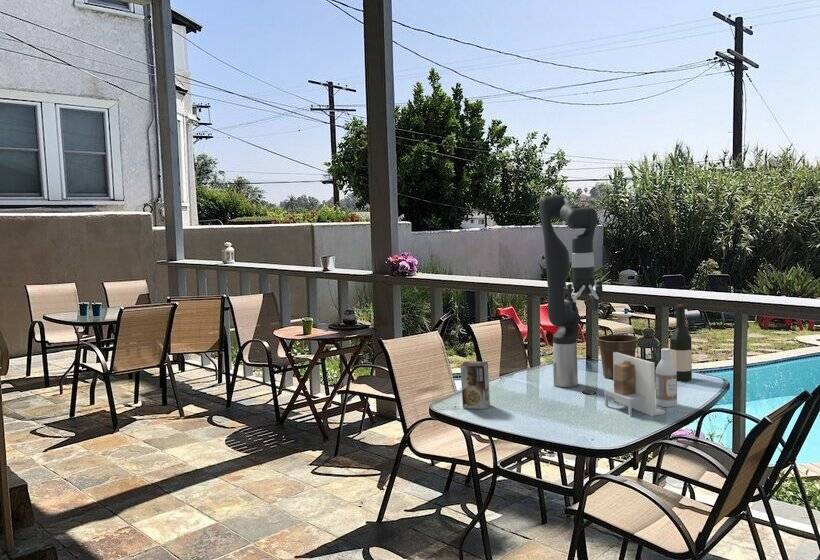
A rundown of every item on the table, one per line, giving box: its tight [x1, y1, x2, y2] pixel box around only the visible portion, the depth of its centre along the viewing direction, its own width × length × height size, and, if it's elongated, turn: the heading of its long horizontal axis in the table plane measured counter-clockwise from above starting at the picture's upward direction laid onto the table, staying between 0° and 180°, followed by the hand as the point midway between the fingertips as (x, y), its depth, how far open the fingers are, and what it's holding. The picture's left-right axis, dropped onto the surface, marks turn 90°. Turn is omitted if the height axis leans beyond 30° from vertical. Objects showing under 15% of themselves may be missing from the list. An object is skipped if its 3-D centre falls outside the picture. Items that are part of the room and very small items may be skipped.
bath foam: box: [655, 347, 678, 408], centre depth 238 cm, size 7×7×20 cm
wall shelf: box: [603, 352, 666, 417], centre depth 237 cm, size 12×20×18 cm, turn 20°
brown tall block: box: [613, 360, 635, 395], centre depth 235 cm, size 5×5×11 cm
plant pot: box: [596, 334, 639, 380], centre depth 280 cm, size 16×16×16 cm
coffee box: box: [459, 360, 491, 410], centre depth 249 cm, size 9×6×16 cm
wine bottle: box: [669, 304, 693, 383], centre depth 270 cm, size 8×8×30 cm
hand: (584, 311), depth 240 cm, fingers open, 8 cm apart
